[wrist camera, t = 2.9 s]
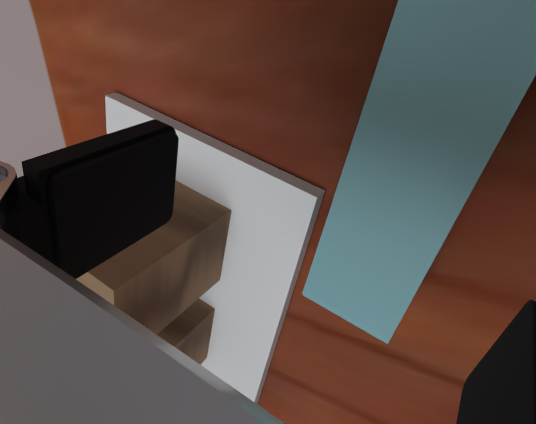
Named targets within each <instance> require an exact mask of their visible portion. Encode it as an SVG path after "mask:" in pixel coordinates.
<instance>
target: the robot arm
mask: <svg viewBox="0 0 536 424" xmlns="http://www.w3.org/2000/svg"><path fill="white" fill-rule="evenodd" d="M178 143H179V138H178V136H177V134H176V131H175V129H174V128H173V127H172V126H170V125H168V124H165V123H163V122H161V121H159V120H156V119H154V120H150V121H147V122H144V123H141V124H137V125H134V126H131V127H128V128H125V129H122V130H119V131H116V132H113V133H109V134H106V135H103V136H100V137H97V138H94V139H91V140H88V141H85V142H81V143H78V144H75V145H72V146H69V147H66V148H63V149H60V150H57V151H53V152H50V153H47V154H44V155H41V156H38V157H35V158H32V159H29V160H25V161H23V162H22V167H23V173H24V176H22V177H19V178H17V174H16V171H15V169H14V168H13V167H12V166H11V165H9V164H7V163H4V162H1V161H0V424H285V423H283V422H282V421H281V420H279V419H278V418H276V417H275V416H273V415H272V414H270V413H269V412H268V411H266V410H265V409H263V408H262V407H260V406H259V405H257V404H256V403H255V402H253V401H252V400H250V399H249V398H247V397H246V396H245V395H243V394H242V393H240V392H239V391H237V390H236V389H234V388H233V387H232V386H230V385H229V384H227V383H226V382H224V381H223V380H222V379H220V378H219V377H217V376H216V375H214V374H213V373H211V372H210V371H209V370H207V369H206V368H204V367H203V366H201V365H200V364H198V363H197V362H196V361H194V360H193V359H191V358H190V357H188V356H187V355H185V354H184V353H182V352H181V351H180V350H178V349H177V348H175V347H174V346H172V345H171V344H169V343H168V342H166V341H165V340H164V339H162V338H161V337H159V336H158V335H156V334H155V333H153V332H152V331H151V330H149V329H148V328H146V327H145V326H143V325H142V324H140V323H139V322H137V321H136V320H134V319H133V318H132V317H130V316H129V315H127V314H126V313H124V312H123V311H121V310H120V309H118V308H117V307H116V306H114V305H113V304H111V303H110V302H108V301H107V300H105V299H104V298H102V297H101V296H99V295H98V294H97V293H95V292H94V291H92V290H91V289H89V288H88V287H86V286H85V285H83V284H82V283H80V282H79V281H77V280H76V279H77V278H79V277H81V276H82V275H84V274H85V273H87V272H89V271H90V270H92V269H93V268H95V267H97V266H98V265H100V264H102V263H103V262H105V261H106V260H108V259H110V258H111V257H113V256H115V255H116V254H118V253H119V252H121V251H123V250H124V249H126V248H127V247H129V246H131V245H132V244H134V243H136V242H137V241H139V240H140V239H142V238H144V237H145V236H147V235H149V234H150V233H152V232H153V231H155V230H157V229H158V228H160V227H161V226H163V225H165V224H166V223H167V222H168V221H169V220H170V219H171V217H172V214H173V205H174V193H175V180H176V168H177V155H178ZM456 424H536V302H535V301H533V300H529V301H528V302H527V303H526V304H525V305H524V306H523V308H522V309H521V310H520V311H519V313H518V314H517V315H516V316H515V318H514V319H513V320H512V322H511V323H510V324H509V325H508V327H507V328H506V329H505V330H504V332H503V333H502V334H501V336H500V337H499V338H498V339H497V341H496V342H495V343H494V344H493V346H492V347H491V348H490V349H489V351H488V352H487V353H486V355H485V356H484V357H483V358H482V360H481V361H480V362H479V363H478V365H477V366H476V367H475V369H474V370H473V371H472V372H471V374H470V375H469V376H468V378H467V380H466V382H465V384H464V387H463V390H462V395H461V401H460V406H459V412H458V418H457V423H456Z"/></svg>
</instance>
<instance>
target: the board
mask: <svg viewBox="0 0 536 424" xmlns="http://www.w3.org/2000/svg"><path fill="white" fill-rule="evenodd" d="M105 102H106V127H107V134H109V133H113V132H116V131H119V130H122V129H125V128H128V127H131V126H134V125H137V124H141V123H144V122H147V121H150V120H154V119H156V120H159V121H161V122H163V123H165V124H168V125H170V126H172V127H173V128H174V129H175V131H176V134H177V136H178V138H179V143H178V155H177V168H176V181H178V182H180V183H182V184H184V185H186V186H187V187H189V188H191V189H193V190H195V191H197V192H199V193H200V194H202V195H204V196H206V197H208V198H210V199H212V200H213V201H215V202H217V203H219V204H221V205H223V206H225V207H226V208H228V209H230V210H232V212H231V218H230V224H229V230H228V236H227V241H226V247H225V253H224V259H223V265H222V271H221V277H220V280H219V281H218V282H217V283H216V284H215V285H214V286H212V287H211V288H210V289H209V290H208V291H207V292H205V293H204V294H203V295H202V296H201V297H200V298H199V299H201V300H202V301H204V302H206V303H207V304H209V305H210V306H212V307H213V308H215V313H214V319H213V324H212V330H211V336H210V342H209V348H208V354H207V358H206V359H205V360H204V361H203V363H202V364H201V366H203V367H204V368H206V369H207V370H209V371H210V372H211V373H213V374H214V375H216V376H217V377H219V378H220V379H222V380H223V381H224V382H226V383H227V384H229V385H230V386H232V387H233V388H234V389H236V390H237V391H239V392H240V393H242V394H243V395H245V396H246V397H247V398H249V399H250V400H252V401H253V402H255V403H256V404H258V401H259V398H260V395H261V391H262V388H263V385H264V382H265V379H266V376H267V373H268V369H269V366H270V363H271V360H272V357H273V354H274V351H275V347H276V344H277V341H278V338H279V335H280V332H281V328H282V325H283V322H284V319H285V316H286V313H287V310H288V306H289V303H290V300H291V297H292V294H293V291H294V288H295V284H296V281H297V278H298V275H299V272H300V269H301V266H302V262H303V259H304V256H305V253H306V250H307V247H308V243H309V240H310V237H311V234H312V231H313V228H314V225H315V221H316V218H317V215H318V212H319V209H320V206H321V203H322V199H323V196H324V193H325V190H323V189H321V188H319V187H316V186H314V185H312V184H310V183H308V182H306V181H304V180H302V179H299V178H297V177H295V176H293V175H291V174H289V173H287V172H285V171H282V170H280V169H278V168H276V167H274V166H272V165H270V164H268V163H266V162H263V161H261V160H259V159H257V158H255V157H253V156H251V155H249V154H246V153H244V152H242V151H240V150H238V149H236V148H234V147H232V146H229V145H227V144H225V143H223V142H221V141H219V140H217V139H215V138H212V137H210V136H208V135H206V134H204V133H202V132H200V131H198V130H196V129H193V128H191V127H189V126H187V125H185V124H183V123H181V122H179V121H176V120H174V119H172V118H170V117H168V116H166V115H164V114H162V113H159V112H157V111H155V110H153V109H151V108H149V107H147V106H145V105H142V104H140V103H138V102H136V101H134V100H132V99H130V98H128V97H126V96H123V95H121V94H119V93H114V94H109V95H105Z"/></svg>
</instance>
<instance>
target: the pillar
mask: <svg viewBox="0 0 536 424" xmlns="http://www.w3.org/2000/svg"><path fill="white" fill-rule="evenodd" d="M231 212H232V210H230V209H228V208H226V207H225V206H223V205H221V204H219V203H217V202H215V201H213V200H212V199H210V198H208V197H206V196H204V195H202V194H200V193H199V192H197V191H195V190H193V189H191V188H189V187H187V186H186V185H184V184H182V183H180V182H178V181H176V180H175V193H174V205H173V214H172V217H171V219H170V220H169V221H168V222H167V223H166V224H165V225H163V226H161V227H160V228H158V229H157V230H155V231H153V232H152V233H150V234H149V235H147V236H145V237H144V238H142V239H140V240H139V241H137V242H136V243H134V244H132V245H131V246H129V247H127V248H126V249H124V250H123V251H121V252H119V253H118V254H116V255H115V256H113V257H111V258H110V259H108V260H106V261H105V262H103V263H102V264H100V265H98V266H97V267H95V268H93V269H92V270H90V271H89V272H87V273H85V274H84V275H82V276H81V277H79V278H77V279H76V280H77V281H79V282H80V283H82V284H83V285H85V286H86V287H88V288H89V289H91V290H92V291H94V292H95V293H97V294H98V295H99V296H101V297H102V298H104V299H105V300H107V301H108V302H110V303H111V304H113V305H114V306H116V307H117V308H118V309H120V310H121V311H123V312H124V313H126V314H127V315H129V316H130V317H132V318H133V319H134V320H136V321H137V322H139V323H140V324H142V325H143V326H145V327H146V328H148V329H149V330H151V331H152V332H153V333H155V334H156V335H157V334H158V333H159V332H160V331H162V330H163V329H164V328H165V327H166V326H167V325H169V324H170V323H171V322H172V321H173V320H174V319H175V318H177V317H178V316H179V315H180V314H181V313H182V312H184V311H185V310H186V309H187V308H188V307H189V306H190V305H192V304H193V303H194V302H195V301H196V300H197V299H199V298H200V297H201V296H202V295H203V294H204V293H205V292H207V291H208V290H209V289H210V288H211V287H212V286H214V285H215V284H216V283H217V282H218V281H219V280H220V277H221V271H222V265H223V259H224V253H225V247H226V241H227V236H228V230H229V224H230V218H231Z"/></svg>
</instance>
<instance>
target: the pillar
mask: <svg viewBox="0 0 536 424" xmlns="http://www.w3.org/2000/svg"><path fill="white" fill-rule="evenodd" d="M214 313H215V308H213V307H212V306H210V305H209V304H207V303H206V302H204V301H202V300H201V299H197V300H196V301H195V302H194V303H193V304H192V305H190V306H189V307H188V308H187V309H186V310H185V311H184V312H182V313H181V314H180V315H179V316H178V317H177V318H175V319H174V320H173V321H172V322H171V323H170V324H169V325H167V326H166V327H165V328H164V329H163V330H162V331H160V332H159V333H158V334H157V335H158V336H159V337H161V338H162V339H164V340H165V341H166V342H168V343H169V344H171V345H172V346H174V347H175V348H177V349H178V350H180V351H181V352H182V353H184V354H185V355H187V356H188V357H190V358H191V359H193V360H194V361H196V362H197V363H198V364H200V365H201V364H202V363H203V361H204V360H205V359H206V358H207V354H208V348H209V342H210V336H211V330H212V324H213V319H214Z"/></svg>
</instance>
